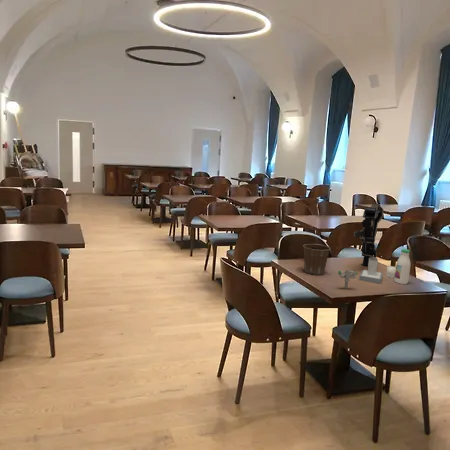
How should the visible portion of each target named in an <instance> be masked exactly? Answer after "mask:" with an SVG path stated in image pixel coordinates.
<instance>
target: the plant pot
mask: <svg viewBox="0 0 450 450" xmlns="http://www.w3.org/2000/svg"><path fill="white" fill-rule="evenodd" d="M302 247H303V254H304V255H303V256H304V257H303V259H304V262H303V266H304V267H303V268H304V269H303V271H304V272H305V273H306V274H308V275H311V274H312V275H315V276H321V275H324V274H325V271H326V270H325V269H326V267H327V260H328V257H329V254H330V250H331V247H329V246H328V245H324V244H320V245H318V243H307V244H303V245H302Z"/></svg>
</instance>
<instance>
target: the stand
mask: <svg viewBox="0 0 450 450" xmlns="http://www.w3.org/2000/svg"><path fill="white" fill-rule="evenodd" d="M367 271H368V269H362V270H361V271H360V274H359V279H358V280H359V281H363V282H368V283H373V284H374V283H375V284H380V285H381V283H382V279H383V274H384V273H383V272H378V271H377V272H376V276H372V275H368V273H367Z"/></svg>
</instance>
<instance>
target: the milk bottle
mask: <svg viewBox="0 0 450 450" xmlns="http://www.w3.org/2000/svg"><path fill="white" fill-rule="evenodd" d="M410 252H411V251H410V249H406V248H401V250H400V253H401V254H400V256H399V258H397V261H396V266H395V267H396V271H395V278H393V280H394V281H393V282H395V283H397V284H399V285H400V284H402V285H407V284H409V278H410V272H411V259H410Z"/></svg>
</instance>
